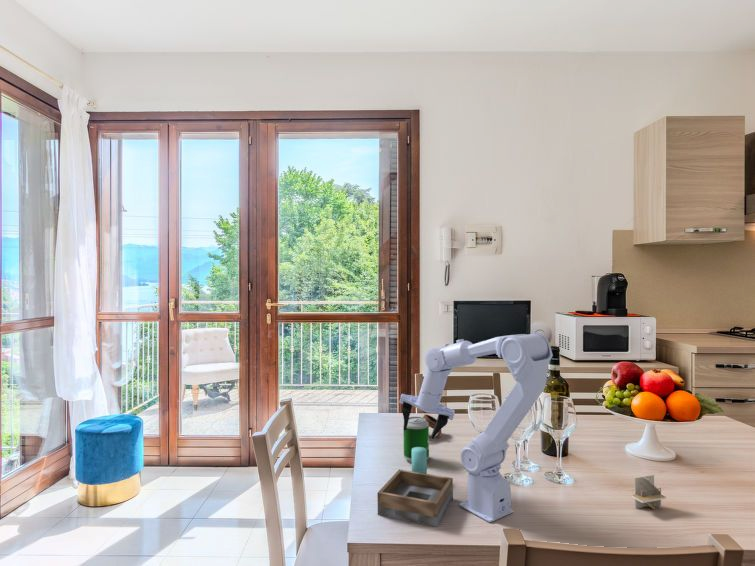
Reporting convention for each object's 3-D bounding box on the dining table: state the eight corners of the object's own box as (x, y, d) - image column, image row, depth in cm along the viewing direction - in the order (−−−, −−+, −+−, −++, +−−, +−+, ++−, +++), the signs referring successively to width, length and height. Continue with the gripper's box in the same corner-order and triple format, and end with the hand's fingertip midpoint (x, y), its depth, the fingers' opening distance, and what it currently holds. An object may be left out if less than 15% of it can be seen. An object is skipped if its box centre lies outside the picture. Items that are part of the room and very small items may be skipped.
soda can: (427, 465, 134) (427, 424, 134) (402, 463, 136) (401, 422, 135) (430, 455, 141) (429, 416, 141) (405, 454, 143) (405, 415, 143)
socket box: (452, 498, 114) (452, 478, 114) (437, 526, 101) (436, 503, 101) (399, 488, 119) (399, 469, 119) (377, 514, 106) (377, 492, 106)
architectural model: (667, 513, 106) (666, 480, 106) (642, 517, 104) (642, 484, 104) (654, 506, 110) (654, 474, 109) (630, 510, 108) (630, 478, 108)
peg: (429, 480, 124) (429, 450, 124) (418, 484, 122) (417, 453, 122) (420, 474, 128) (419, 445, 128) (408, 478, 125) (408, 449, 125)
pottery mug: (415, 431, 165) (427, 411, 165) (437, 448, 160) (449, 427, 160) (401, 433, 155) (414, 411, 155) (424, 450, 150) (437, 428, 150)
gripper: (459, 390, 124) (445, 432, 128) (407, 374, 126) (395, 416, 130) (458, 403, 117) (444, 447, 122) (403, 386, 119) (391, 430, 124)
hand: (418, 432), depth 125 cm, fingers open, 7 cm apart
